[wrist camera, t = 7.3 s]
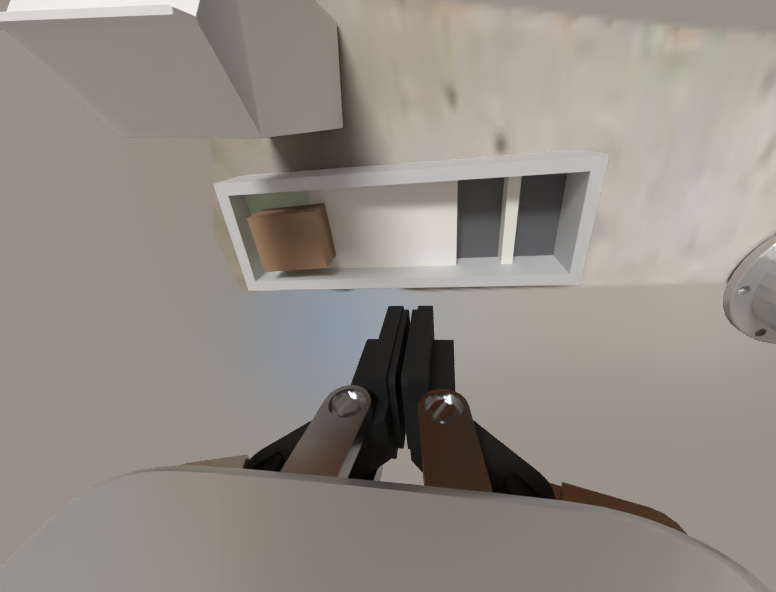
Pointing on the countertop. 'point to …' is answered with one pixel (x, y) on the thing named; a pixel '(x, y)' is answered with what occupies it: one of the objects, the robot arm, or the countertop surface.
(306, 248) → the block
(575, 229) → the box
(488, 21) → the countertop surface
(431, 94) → the countertop surface
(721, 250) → the countertop surface
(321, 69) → the milk carton
